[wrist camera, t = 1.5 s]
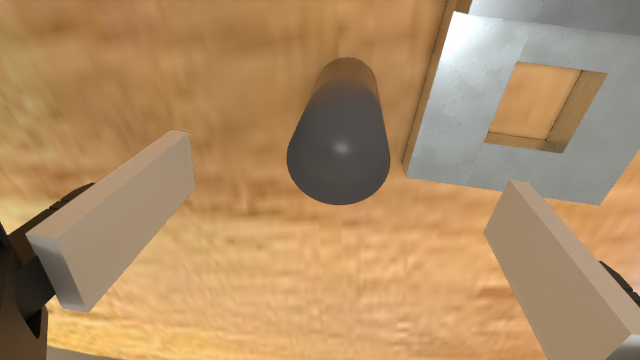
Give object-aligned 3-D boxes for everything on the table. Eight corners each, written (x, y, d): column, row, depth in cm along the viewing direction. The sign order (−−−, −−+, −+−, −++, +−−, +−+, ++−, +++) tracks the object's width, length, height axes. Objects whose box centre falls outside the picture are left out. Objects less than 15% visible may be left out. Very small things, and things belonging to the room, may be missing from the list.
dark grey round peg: (314, 112, 27) (284, 197, 16) (320, 53, 25) (289, 105, 13) (370, 120, 27) (378, 211, 16) (382, 61, 24) (401, 121, 13)
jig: (402, 163, 29) (410, 197, 24) (452, -18, 21) (478, -20, 17) (581, 189, 28) (625, 229, 23) (695, 12, 21) (794, 18, 16)
